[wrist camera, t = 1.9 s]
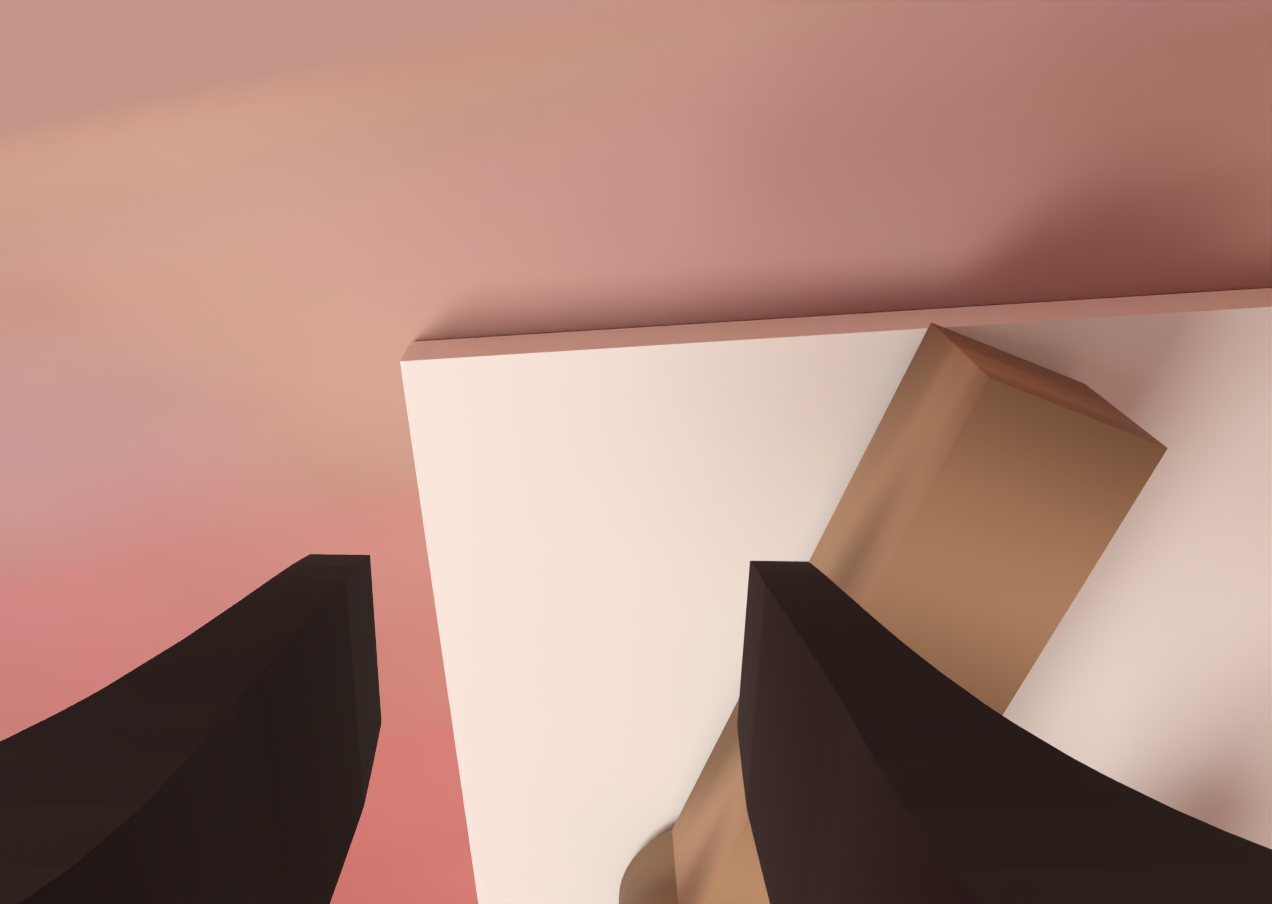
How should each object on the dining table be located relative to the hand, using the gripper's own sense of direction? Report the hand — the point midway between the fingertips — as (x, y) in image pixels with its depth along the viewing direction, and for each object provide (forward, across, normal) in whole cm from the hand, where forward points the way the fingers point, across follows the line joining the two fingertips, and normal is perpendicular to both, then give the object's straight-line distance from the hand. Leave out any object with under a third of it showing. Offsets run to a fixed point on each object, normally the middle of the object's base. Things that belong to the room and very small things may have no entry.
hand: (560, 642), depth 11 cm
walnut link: (+8, -5, +6) cm, 11 cm away
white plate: (+9, -9, +7) cm, 15 cm away
